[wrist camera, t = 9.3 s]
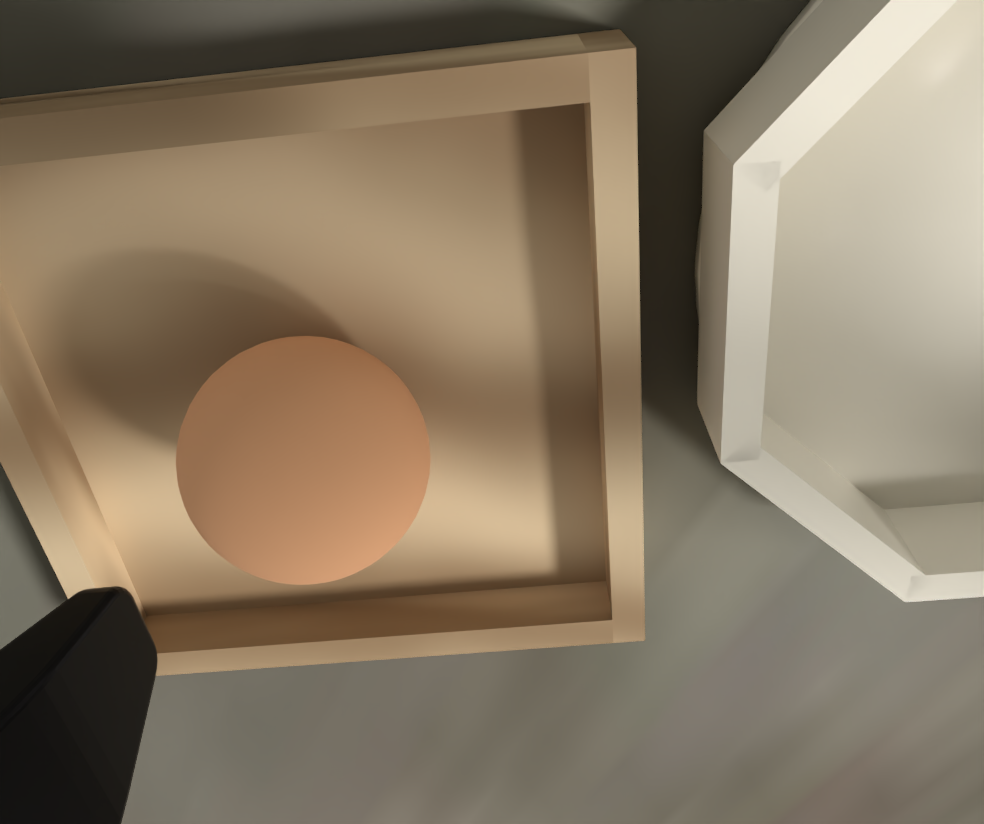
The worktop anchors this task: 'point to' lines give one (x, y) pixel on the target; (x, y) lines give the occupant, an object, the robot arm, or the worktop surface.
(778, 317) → the bowl
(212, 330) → the tray
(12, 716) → the robot arm
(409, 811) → the worktop surface
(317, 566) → the ball
